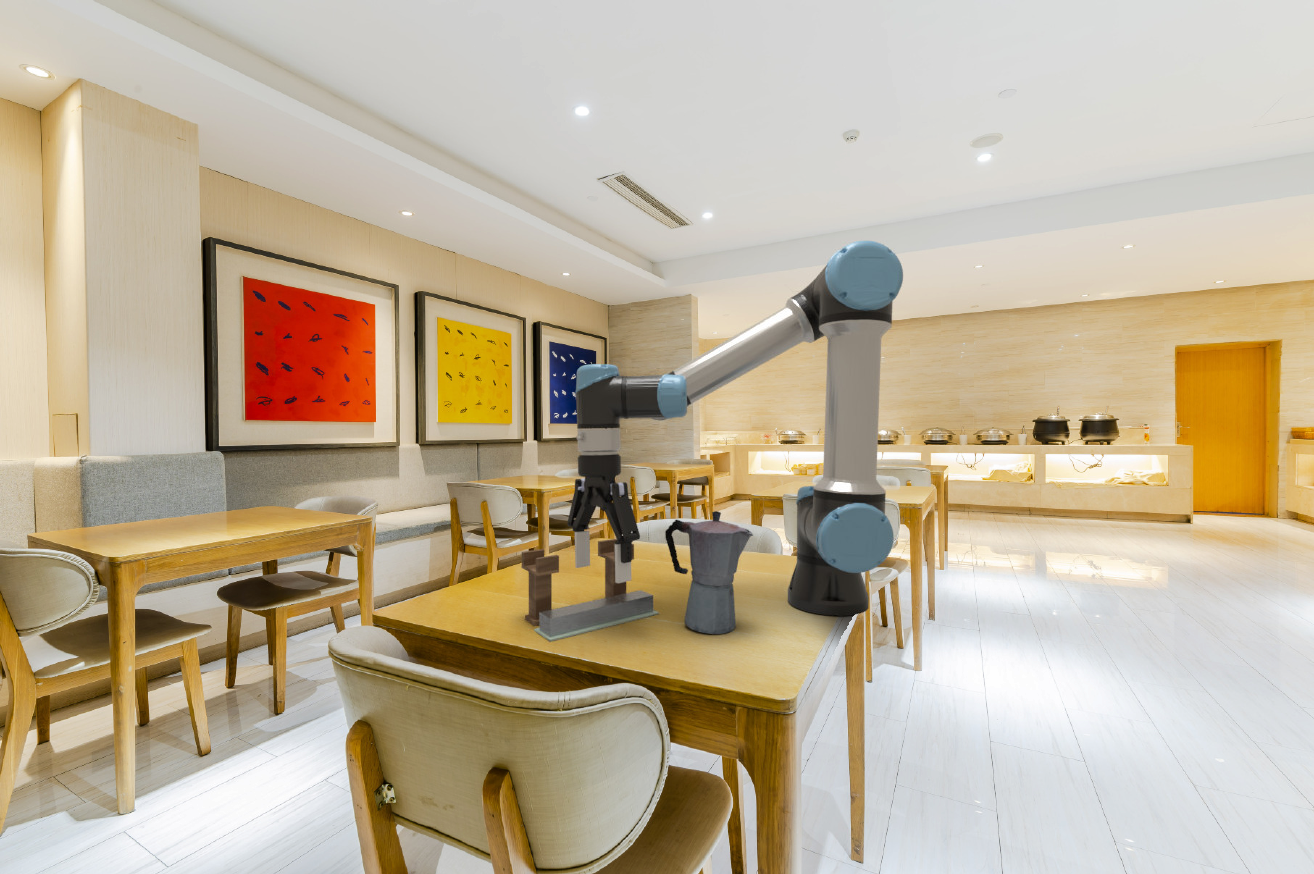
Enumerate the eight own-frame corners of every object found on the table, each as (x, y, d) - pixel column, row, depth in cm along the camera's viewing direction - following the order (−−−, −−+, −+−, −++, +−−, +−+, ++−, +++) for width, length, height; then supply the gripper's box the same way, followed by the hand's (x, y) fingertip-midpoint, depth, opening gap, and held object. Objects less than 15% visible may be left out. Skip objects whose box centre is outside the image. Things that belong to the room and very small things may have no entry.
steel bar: (653, 611, 102) (653, 595, 102) (550, 637, 90) (550, 618, 90) (640, 605, 106) (640, 590, 106) (539, 629, 93) (539, 612, 93)
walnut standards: (634, 605, 106) (634, 544, 106) (538, 628, 94) (537, 559, 94) (614, 597, 112) (614, 538, 112) (521, 617, 100) (521, 551, 100)
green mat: (659, 613, 102) (659, 612, 102) (550, 641, 88) (550, 639, 88) (640, 605, 107) (640, 604, 107) (534, 630, 93) (534, 628, 93)
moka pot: (752, 639, 89) (752, 516, 89) (658, 632, 92) (659, 513, 92) (753, 619, 99) (754, 508, 98) (668, 613, 102) (669, 505, 102)
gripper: (547, 452, 105) (550, 564, 105) (620, 456, 85) (623, 593, 85) (582, 451, 109) (585, 558, 110) (659, 453, 89) (662, 584, 90)
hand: (602, 573), depth 97 cm, fingers open, 13 cm apart
